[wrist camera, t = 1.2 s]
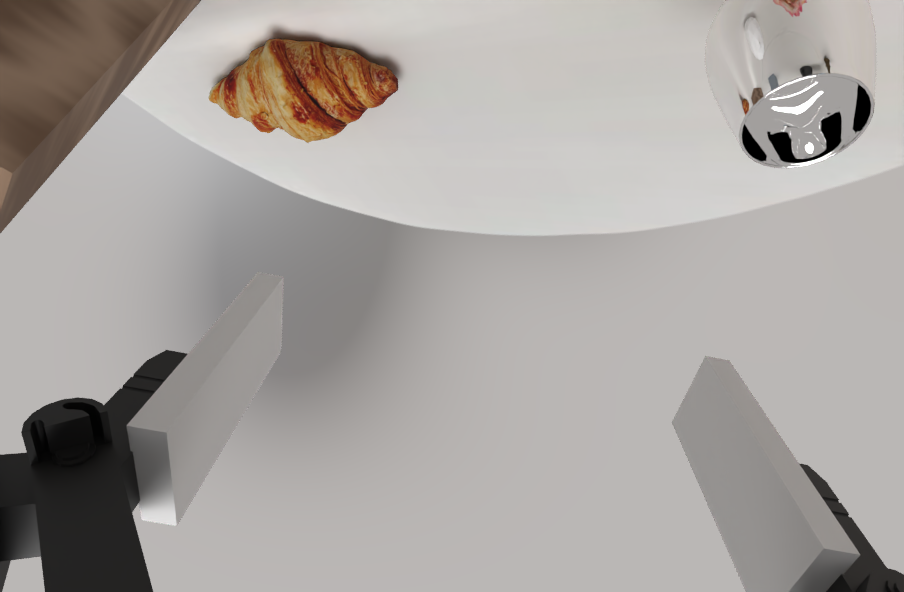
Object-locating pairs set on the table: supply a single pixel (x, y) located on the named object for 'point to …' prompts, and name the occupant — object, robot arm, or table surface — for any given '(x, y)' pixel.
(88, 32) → the walnut stand
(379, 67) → the croissant
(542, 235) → the table surface
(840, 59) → the wineglass
